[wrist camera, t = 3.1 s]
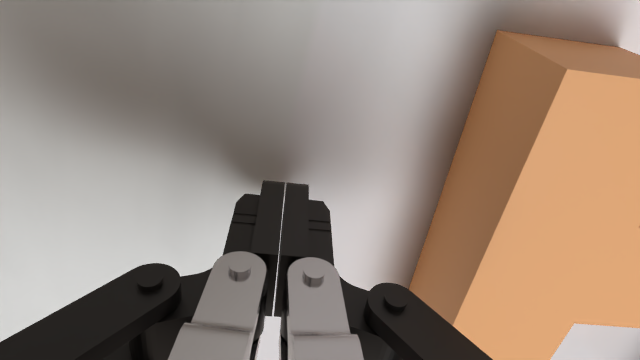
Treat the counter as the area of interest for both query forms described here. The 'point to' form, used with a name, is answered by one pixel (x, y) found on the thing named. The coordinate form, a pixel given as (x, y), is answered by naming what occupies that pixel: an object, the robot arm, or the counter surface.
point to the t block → (540, 200)
